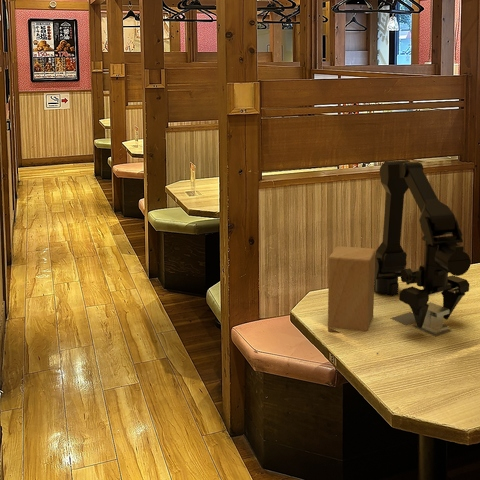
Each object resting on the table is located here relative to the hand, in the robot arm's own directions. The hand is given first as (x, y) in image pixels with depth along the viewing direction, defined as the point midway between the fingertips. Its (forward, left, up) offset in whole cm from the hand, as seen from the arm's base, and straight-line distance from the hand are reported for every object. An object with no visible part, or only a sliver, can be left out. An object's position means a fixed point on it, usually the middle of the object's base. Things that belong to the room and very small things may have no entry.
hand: (432, 323), depth 164 cm
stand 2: (0, 0, -3) cm, 3 cm away
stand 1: (-8, 0, -3) cm, 9 cm away
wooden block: (-15, -13, -3) cm, 20 cm away
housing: (0, 0, -2) cm, 2 cm away
